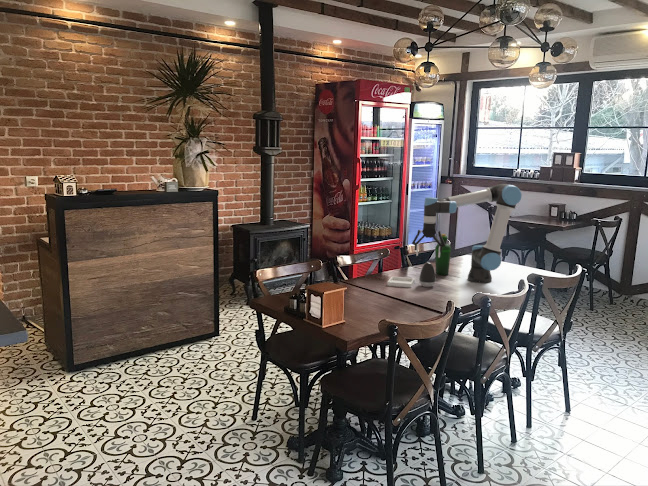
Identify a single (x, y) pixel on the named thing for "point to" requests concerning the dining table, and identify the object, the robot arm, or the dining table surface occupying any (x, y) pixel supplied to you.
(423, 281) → the egg shaped speaker
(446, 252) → the bottle
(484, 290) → the dining table surface
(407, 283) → the tray
